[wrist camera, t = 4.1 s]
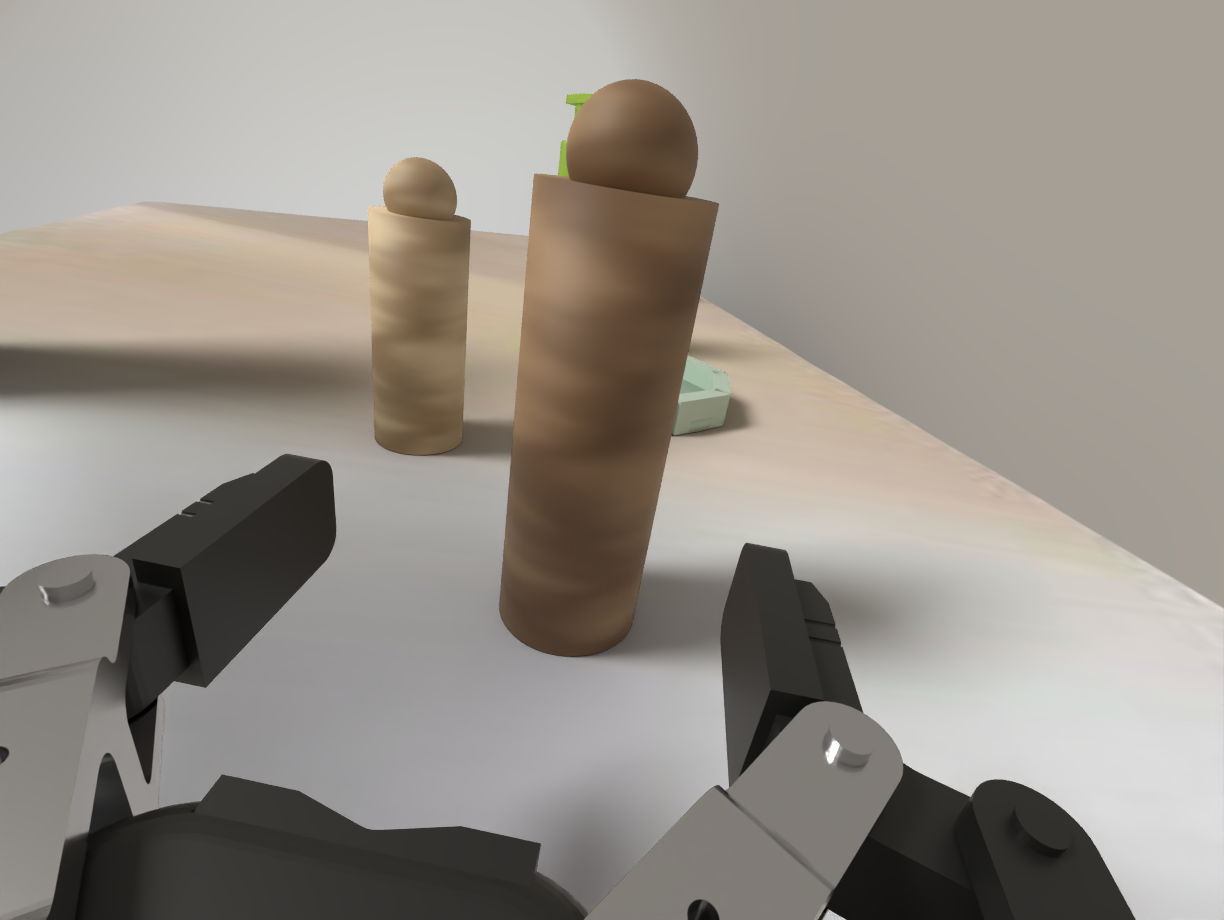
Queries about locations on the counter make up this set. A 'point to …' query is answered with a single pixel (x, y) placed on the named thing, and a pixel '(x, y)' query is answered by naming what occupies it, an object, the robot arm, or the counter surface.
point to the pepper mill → (601, 366)
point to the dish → (701, 398)
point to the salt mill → (418, 310)
